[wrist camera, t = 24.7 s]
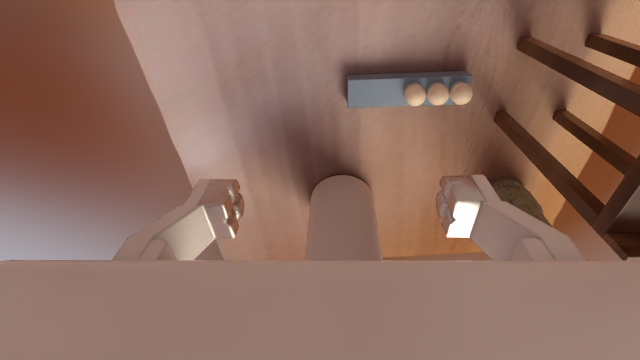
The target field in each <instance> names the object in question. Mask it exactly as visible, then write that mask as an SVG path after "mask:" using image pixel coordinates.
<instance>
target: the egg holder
mask: <svg viewBox="0 0 640 360" xmlns="http://www.w3.org/2000/svg"><path fill="white" fill-rule="evenodd" d="M471 79H472V75H471V74H470V73H468V72H467V71H444V72H416V73H388V74H361V75H347V104H348V108H358V107H392V106H426V105H463V104H466V103H468V102H469V101H470V100H471V98H472V95H473V92H472V89H471V87H470V83H471Z"/></svg>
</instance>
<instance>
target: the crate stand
mask: <svg viewBox="0 0 640 360" xmlns="http://www.w3.org/2000/svg"><path fill="white" fill-rule="evenodd" d="M585 46H586V47H589V48H591V49H594V50H597V51H599V52H602V53H604V54H607V55H609V56H612V57H614V58H617V59H620V60H622V61H625V62H627V63H630V64H632V65H635V66H638V67H640V46H639V45H636V44H633V43H629V42H626V41H623V40H620V39H617V38H614V37H611V36H607V35H604V34H590V36H589V38H588V40H587V42H586V45H585ZM517 49H518V50H519V51H521V52H523V53H525V54H527V55H528V56H530V57H532V58H534V59H536V60H537V61H539V62H541V63H543V64H545V65H547V66H548V67H550V68H552V69H554V70H556V71H557V72H559V73H561V74H563V75H565V76H566V77H568V78H570V79H572V80H574V81H575V82H577V83H579V84H581V85H583V86H585V87H586V88H588V89H590V90H592V91H594V92H595V93H597V94H599V95H601V96H603V97H604V98H606V99H608V100H610V101H612V102H613V103H615V104H617V105H619V106H621V107H623V108H624V109H626V110H628V111H630V112H632V113H633V114H635V115H637V116H639V117H640V85H637V84H635V83H633V82H631V81H629V80H626V79H624V78H622V77H620V76H617V75H615V74H613V73H611V72H609V71H606V70H604V69H602V68H600V67H597V66H595V65H593V64H591V63H589V62H586V61H584V60H582V59H580V58H577V57H575V56H573V55H571V54H568V53H566V52H564V51H562V50H560V49H557V48H555V47H553V46H551V45H548V44H546V43H544V42H542V41H540V40H537V39H535V38H533V37H520V40H519V43H518V46H517ZM553 120H555V121H556V122H557V123H558V124H560V125H561V126H562V127H563V128H565V129H566V130H567V131H569V132H570V133H571V134H572V135H574V136H575V137H576V138H578V139H579V140H580V141H581V142H583V143H584V144H585V145H586V146H588V147H589V148H590V149H592V150H593V151H594V152H596V153H597V154H598V155H599V156H601V157H602V158H603V159H604V160H606V161H607V162H608V163H610V164H611V165H612V166H613V167H615V168H616V169H617V170H619V171H620V172H621V173H622V174H624V175H625V177H624V178H623V180H622V182H621V183H620V184H619V186H618V187H617V189H616V190H615V192H614V194H613V195H612V197H611V198H610V199H609V201H608V203H607V204H606V205H604V204H603V203H602V202H601V201H600V200H599V199H597V198H596V197H595V196H594V195H593V194H592V193H591V192H590V191H589V190H588V189H587V188H586V187H585V186H584V185H583V184H582V183H581V182H580V181H579V180H578V179H577V178H575V177H574V176H573V175H572V174H571V173H570V172H569V171H568V170H567V169H566V168H565V167H564V166H563V165H562V164H561V163H560V162H559V161H558V160H557V159H555V158H554V157H553V156H552V155H551V154H550V153H549V152H548V151H547V150H546V149H545V148H544V147H543V146H542V145H541V144H540V143H539V142H538V141H537V140H536V139H534V138H533V137H532V136H531V135H530V134H529V133H528V132H527V131H526V130H525V129H524V128H523V127H522V126H521V125H520V124H519V123H518V122H517V121H516V120H515V119H513V118H512V117H511V116H510V115H509V114H508V113H507V112H497V113H496V116H495V119H494V122H495V123H496V124H497V125H498V126H499V127H500V128H501V129H502V130H503V131H504V132H505V134H506V135H507V136H508V137H509V138H510V139H511V140H512V141H513V142H514V143H515V144H516V146H517V147H518V148H519V149H520V150H521V151H522V152H523V153H524V154H525V155H526V156H527V157H528V159H529V160H530V161H531V162H532V163H533V164H534V165H535V166H536V167H537V168H538V169H539V170H540V172H541V173H542V174H543V175H544V176H545V177H546V178H547V179H548V180H549V181H550V182H551V183H552V185H553V186H554V187H555V188H556V189H557V190H558V191H559V192H560V193H561V194H562V195H563V196H564V198H565V199H566V200H567V201H568V202H569V203H570V204H571V205H572V206H573V207H574V208H575V209H576V211H577V212H578V213H579V214H580V215H581V216H582V217H583V218H584V219H585V220H586V221H587V222H588V223H589V225H590V226H591V227H592V228H593V229H594V230H595V231H596V232H597V233H598V234H599V235H600V236H601V238H603V240H604V241H606V243H607V244H608V245H609V246H610V247H611V248H612V249H613V250H614V251H615V252H616V254H617V255H618V256H619V257H620V258H621V259H622V260H623V261H640V155H639V156H638V158H637V159H636V158H635V157H633V156H632V155H630V154H629V153H627V152H626V151H625V150H623V149H622V148H620V147H619V146H617V145H616V144H615V143H613V142H612V141H610V140H609V139H607V138H606V137H604V136H603V135H602V134H600V133H599V132H597V131H596V130H594V129H593V128H592V127H590V126H589V125H587V124H586V123H584V122H583V121H582V120H580V119H579V118H577V117H576V116H574V115H573V114H572V113H570V112H569V111H567V110H557V111H556V113H555V116H554V118H553Z"/></svg>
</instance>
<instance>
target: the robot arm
mask: <svg viewBox="0 0 640 360" xmlns="http://www.w3.org/2000/svg"><path fill="white" fill-rule="evenodd" d="M440 187H441V189H442V190H440V191H439V192H438V193H437V198H436V208H437V213H438V215H439V217H441V218H442V219H443V222H442V226H443V229H444V231H445V234H446V237H466V238H469V239H470V240H472V241H473V242H474V243H475V244H476V245H477V246H478V247H479V248H481V249H482V250H483V251H484V252H485V253H486V254H488V256H490V257H491V258H492V259H493V260H494V261H193V260H194V259H195V258H196V257H197V256H198V255H199V254H200V253H201V252H202V251H203V250H204V249H205V248H206V247H207V246H208V245H209V244H210V243H211V242H212V241H213V240H214V239H221V238H235V236H236V233H237V230H238V227H239V224H238V221H239V220H240V219H241V218H242V216H243V212H244V200H243V197H242V195H241V194H240V193H238V191H239V189H240V186H239V183H238V181H237V180H236V179H213V180H211V179H206V180H199V181H198V182H197V184H196V186H195V187H194V189H193V191H192V192H191V194H190V196H189V198H188V199H187V201H186V203H185V204H184V205H180V206H179V207H177V208H175V209H174V210H172V211H171V212H169V213H167V214H166V215H164V216H163V217H161V218H159V219H158V220H156V221H155V222H153V223H151V224H150V225H148V226H146V227H145V228H143V229H142V230H140V231H139V232H137V233H135V234H134V235H132V236H130V237H129V238H127V240H126V241H125V242H124V244H123V245H122V247H121V248H120V250H119V251H118V252H117V254H116V255H115V257H114V258H113V259H112V260H107V261H106V260H104V261H103V260H102V261H101V260H92V261H91V260H70V261H69V260H6V261H0V360H640V261H588V260H587V259H586V258H585V257H584V255H583V254H582V253H581V252H580V250H579V249H578V248H577V247H576V245H575V244H574V243H573V241H572V240H571V239H570V238H569V237H568V236H566V235H565V234H563V233H561V232H559V231H557V230H556V229H554V228H552V227H550V226H549V225H547V224H545V223H543V222H542V221H540V220H538V219H536V218H534V217H533V216H531V215H529V214H527V213H525V212H524V211H522V210H520V209H518V208H517V207H515V206H513V205H511V204H509V203H508V202H506V201H501V200H500V198H499V197H498V195H497V194H496V192H495V190H494V189H493V187H492V186H491V184H490V183H489V181H488V180H487V178H486V177H485V176H484V175H483V174H481V175H467V176H442V178H441V180H440Z"/></svg>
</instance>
